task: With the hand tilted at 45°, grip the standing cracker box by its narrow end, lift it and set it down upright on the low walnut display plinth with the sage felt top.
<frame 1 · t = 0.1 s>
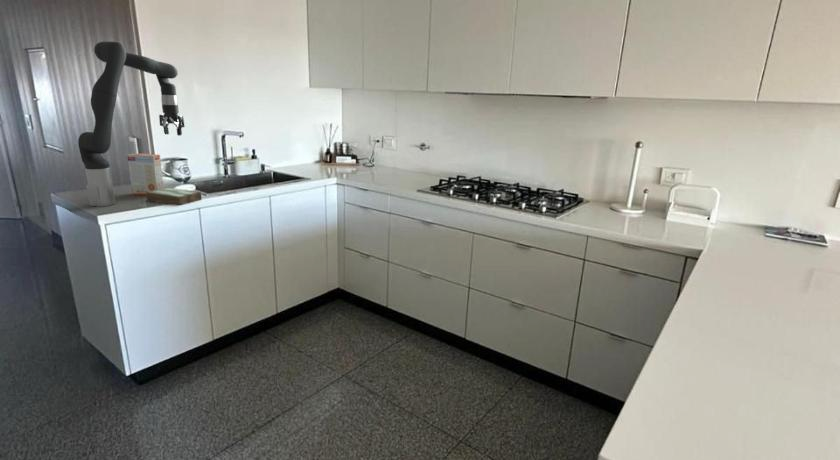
hand: (173, 134, 246), 29 cm above the worktop, tool pointing down, fingers open, 8 cm apart
podium: (174, 199, 228), on the worktop
cracker box: (148, 194, 236), on the worktop
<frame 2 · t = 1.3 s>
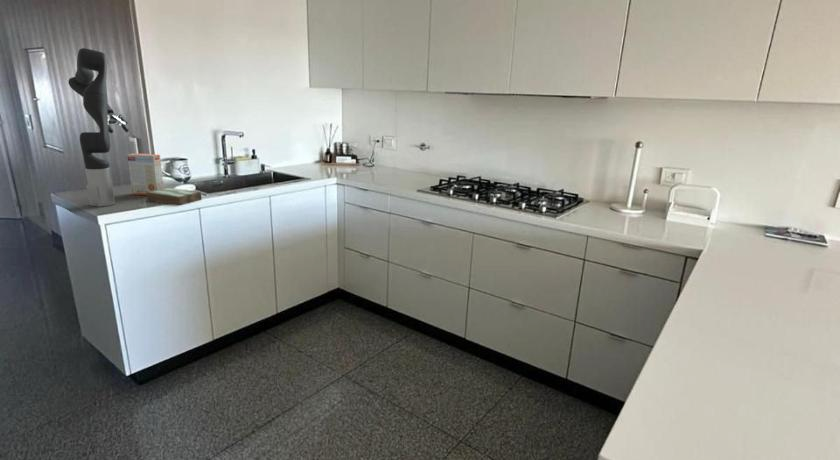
hand: (120, 131, 236), 31 cm above the worktop, tool tilted 45°, fingers open, 8 cm apart
nothing on the worktop moved.
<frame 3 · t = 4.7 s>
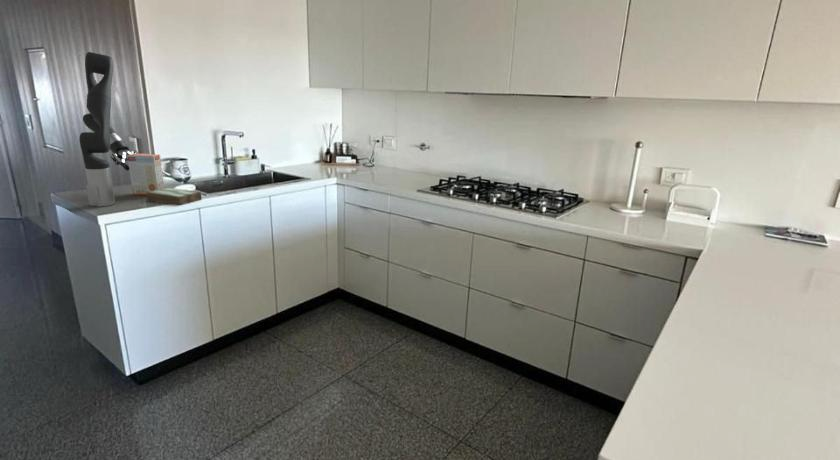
hand: (136, 168, 234), 13 cm above the worktop, tool tilted 45°, fingers open, 8 cm apart
cracker box: (149, 194, 236), on the worktop, touching gripper
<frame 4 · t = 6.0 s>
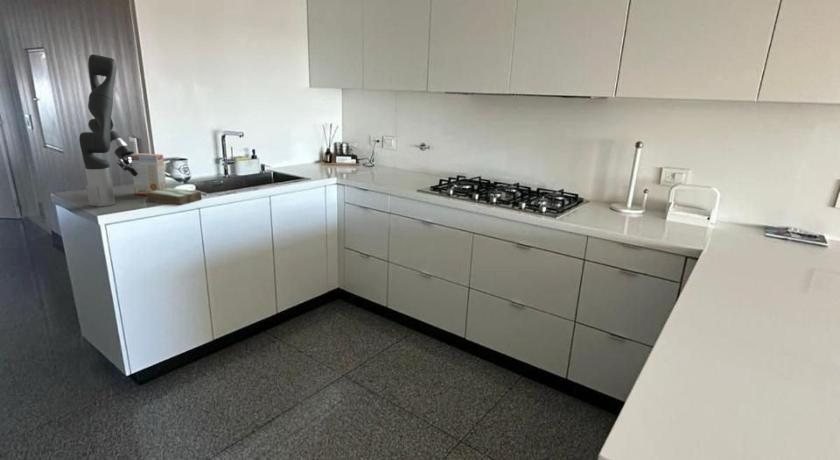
hand: (141, 174, 234), 10 cm above the worktop, tool tilted 45°, fingers closed on cracker box, 6 cm apart
cracker box: (151, 194, 236), on the worktop, touching gripper
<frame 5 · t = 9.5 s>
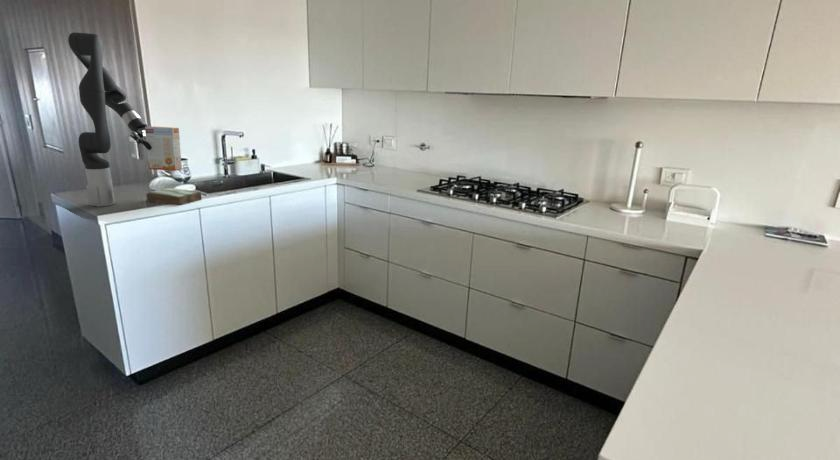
hand: (156, 148, 224), 25 cm above the worktop, tool tilted 45°, fingers closed on cracker box, 6 cm apart
cracker box: (165, 170, 227), point 14 cm above the worktop, touching gripper
when the fingers open (16 cm above the worktop, at t = 13.0 s): cracker box drops 1 cm, resting on podium.
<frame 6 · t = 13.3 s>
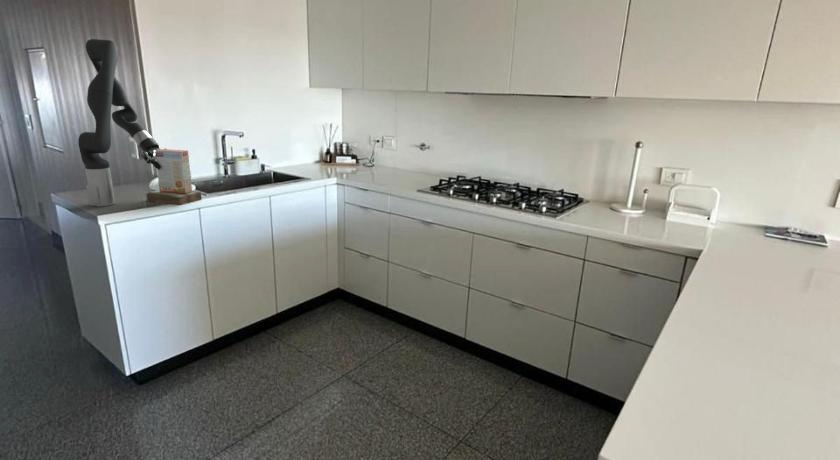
hand: (167, 167, 224), 16 cm above the worktop, tool tilted 45°, fingers open, 8 cm apart
cracker box: (176, 192, 227), point 4 cm above the worktop, touching podium
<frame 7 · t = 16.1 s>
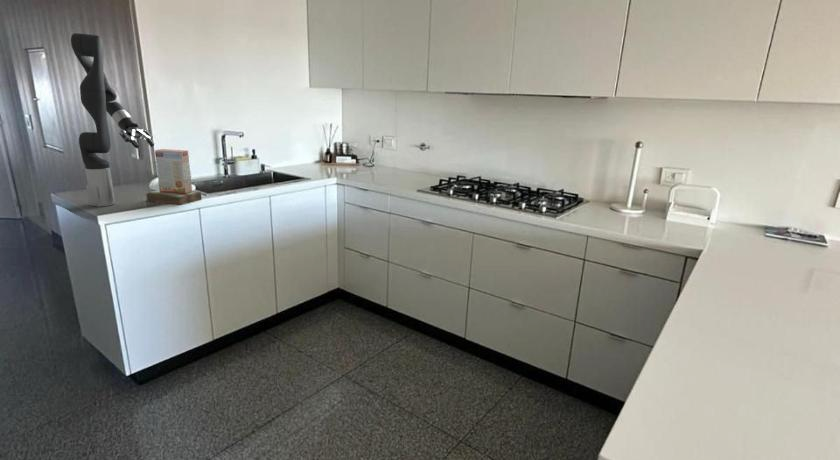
hand: (145, 146, 225), 25 cm above the worktop, tool tilted 45°, fingers open, 8 cm apart
nothing on the worktop moved.
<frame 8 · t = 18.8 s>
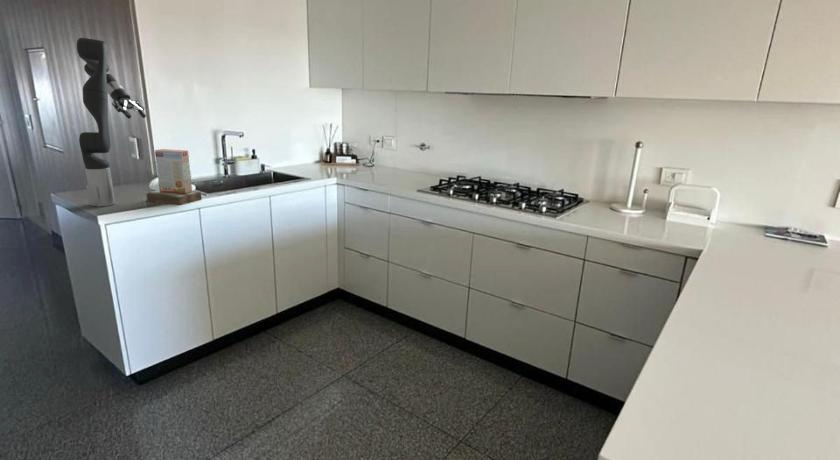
hand: (137, 117, 232), 39 cm above the worktop, tool tilted 45°, fingers open, 8 cm apart
nothing on the worktop moved.
at the end: cracker box inside the target area on the podium (1.1 cm from its centre), point 3.8 cm above the podium's base; cracker box tilted 0°; the gripper is holding nothing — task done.
